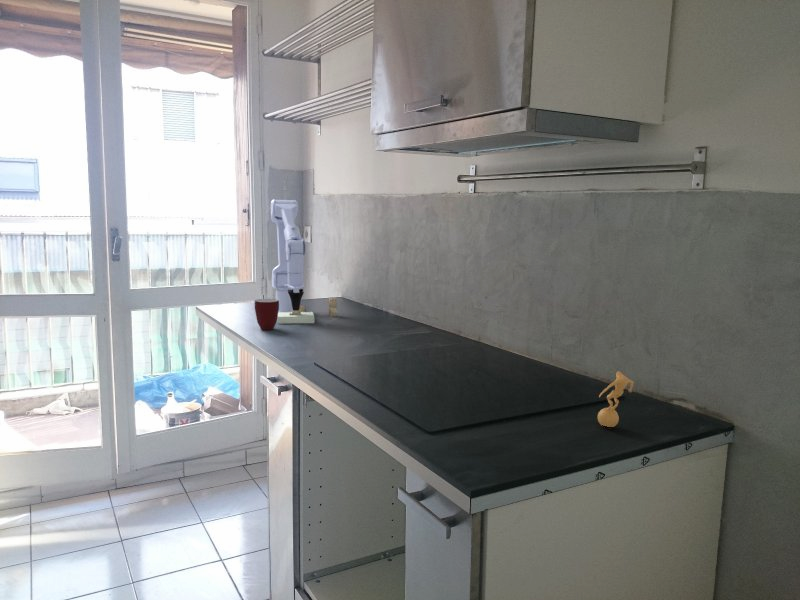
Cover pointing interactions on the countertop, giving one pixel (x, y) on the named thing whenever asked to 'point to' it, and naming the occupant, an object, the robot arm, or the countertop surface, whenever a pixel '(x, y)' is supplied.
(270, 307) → the mug
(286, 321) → the board
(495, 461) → the countertop surface
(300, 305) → the dowel medium
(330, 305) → the dowel long
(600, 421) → the figurine
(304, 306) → the dowel short
